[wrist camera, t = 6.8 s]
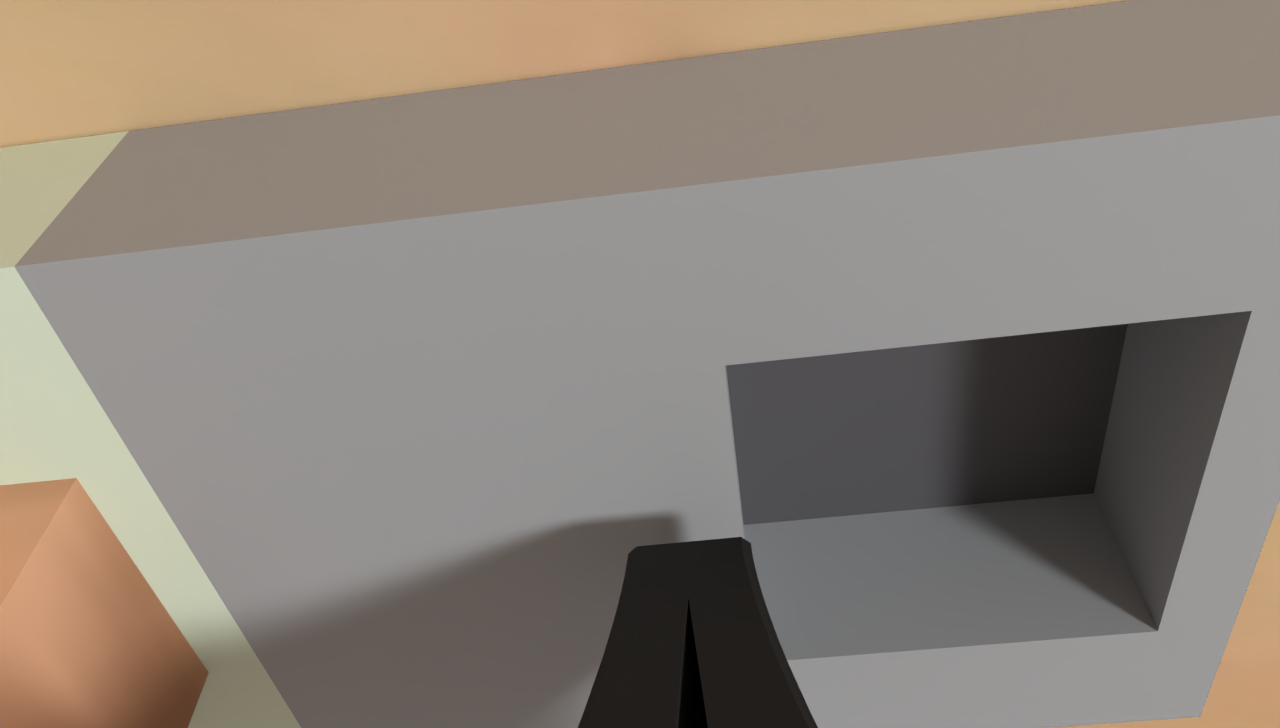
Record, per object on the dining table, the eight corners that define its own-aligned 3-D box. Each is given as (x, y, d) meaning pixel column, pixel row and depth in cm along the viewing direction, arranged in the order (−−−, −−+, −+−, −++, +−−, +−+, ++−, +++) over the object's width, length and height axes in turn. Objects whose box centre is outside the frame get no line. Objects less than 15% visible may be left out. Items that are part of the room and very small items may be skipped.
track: (1127, 561, 18) (1199, 716, 16) (-251, 677, 20) (-368, 828, 18) (1269, -18, 12) (1428, 97, 9) (-755, 246, 14) (-1036, 392, 12)
